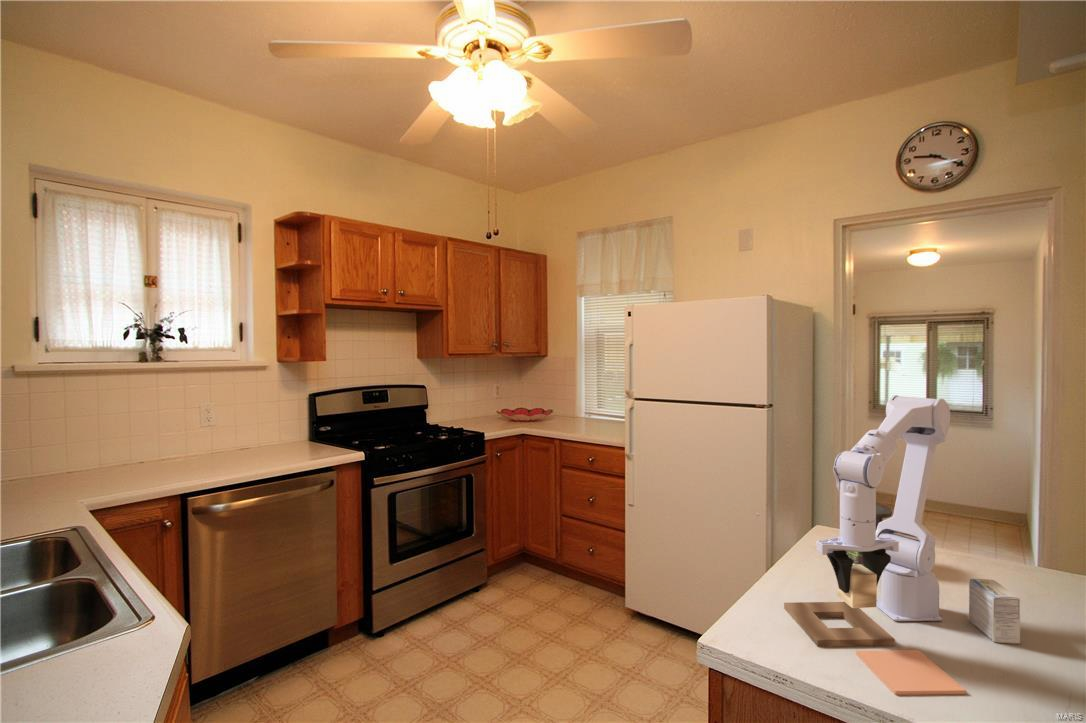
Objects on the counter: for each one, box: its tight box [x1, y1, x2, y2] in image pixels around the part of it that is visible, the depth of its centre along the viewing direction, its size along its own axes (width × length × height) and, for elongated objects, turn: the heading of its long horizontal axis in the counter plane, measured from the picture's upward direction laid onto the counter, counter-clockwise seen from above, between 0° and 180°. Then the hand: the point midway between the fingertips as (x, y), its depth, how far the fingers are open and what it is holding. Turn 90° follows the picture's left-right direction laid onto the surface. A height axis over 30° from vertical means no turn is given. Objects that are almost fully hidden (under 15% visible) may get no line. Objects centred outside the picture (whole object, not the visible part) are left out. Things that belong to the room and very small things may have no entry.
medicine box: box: [968, 578, 1021, 645], centre depth 102 cm, size 8×4×9 cm, turn 168°
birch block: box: [837, 564, 878, 609], centre depth 100 cm, size 4×4×6 cm
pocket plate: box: [783, 601, 896, 647], centre depth 106 cm, size 14×14×1 cm
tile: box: [855, 649, 967, 696], centre depth 90 cm, size 11×11×1 cm
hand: (857, 589), depth 100 cm, fingers closed on birch block, 4 cm apart
